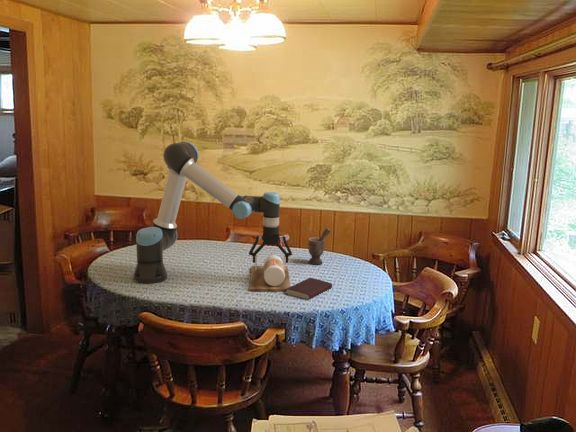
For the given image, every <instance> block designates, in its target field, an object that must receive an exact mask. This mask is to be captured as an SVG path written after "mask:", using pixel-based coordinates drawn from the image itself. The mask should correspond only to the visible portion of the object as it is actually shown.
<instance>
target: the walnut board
mask: <svg viewBox="0 0 576 432" xmlns="http://www.w3.org/2000/svg"><path fill="white" fill-rule="evenodd" d="M284 274H285V278H284V281H283V282H282V283H281V284H280V285H278V286H270V285H268V284H267V283H266V282H265V280H264V265H257V270H255V265H251V275H250V290H249V291H250V292H252V293H253V292H255V293H256V292H257V293H259V292H260V293H262V292H263V293H264V292H268V293H269V292H270V293H274V292H275V293H278V292H280V293H282V292H283V293H287V290H286V289H287V288H289V287H291V286H292V285H291V280H290V274H289V268H288V265H286V270H284Z"/></svg>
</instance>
